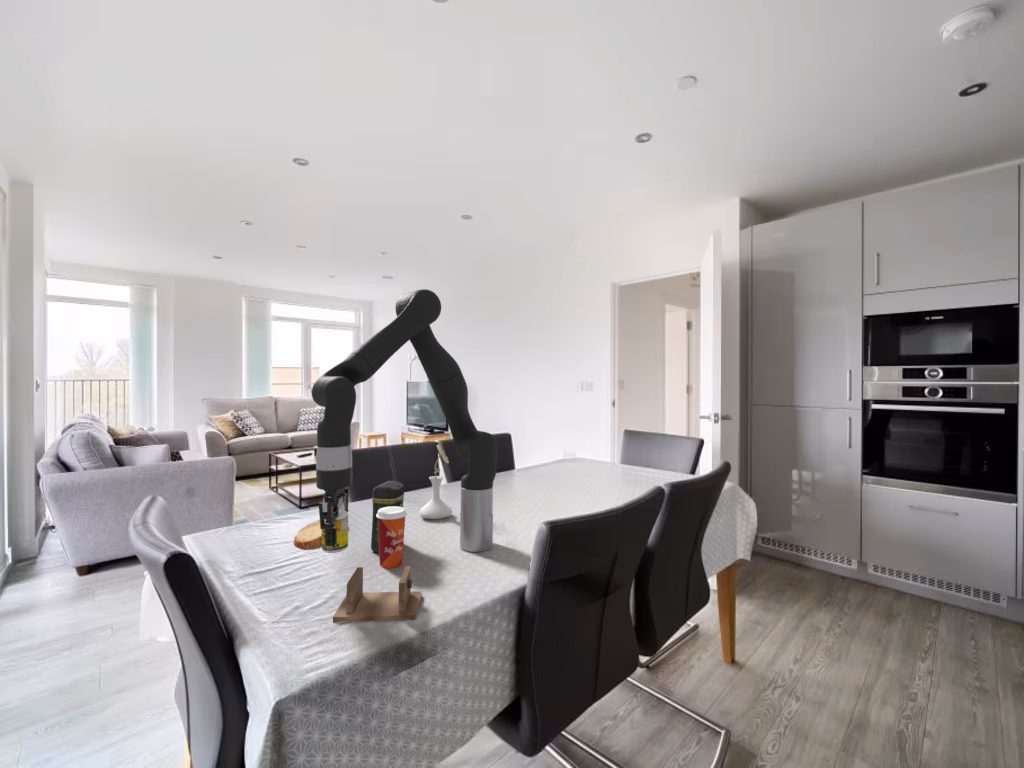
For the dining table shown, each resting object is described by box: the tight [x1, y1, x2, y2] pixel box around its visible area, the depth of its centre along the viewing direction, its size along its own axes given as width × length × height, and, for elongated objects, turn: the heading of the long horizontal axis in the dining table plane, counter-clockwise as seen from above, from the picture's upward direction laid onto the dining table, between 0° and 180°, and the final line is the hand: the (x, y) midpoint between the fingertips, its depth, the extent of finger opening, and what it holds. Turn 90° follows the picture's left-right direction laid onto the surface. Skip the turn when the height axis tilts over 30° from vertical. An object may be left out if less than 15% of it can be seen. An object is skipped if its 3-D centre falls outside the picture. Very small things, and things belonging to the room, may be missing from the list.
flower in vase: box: [418, 443, 453, 520], centre depth 157 cm, size 13×11×25 cm
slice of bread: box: [293, 519, 322, 550], centre depth 136 cm, size 18×18×4 cm
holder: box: [332, 565, 423, 623], centre depth 94 cm, size 16×10×7 cm, turn 94°
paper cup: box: [376, 506, 408, 569], centre depth 116 cm, size 8×8×14 cm
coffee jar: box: [370, 480, 405, 554], centre depth 127 cm, size 10×8×19 cm
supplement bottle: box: [321, 503, 349, 554], centre depth 101 cm, size 6×6×10 cm
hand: (335, 540), depth 101 cm, fingers closed on supplement bottle, 5 cm apart
